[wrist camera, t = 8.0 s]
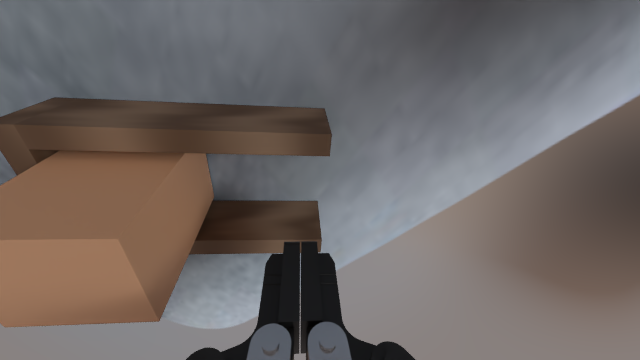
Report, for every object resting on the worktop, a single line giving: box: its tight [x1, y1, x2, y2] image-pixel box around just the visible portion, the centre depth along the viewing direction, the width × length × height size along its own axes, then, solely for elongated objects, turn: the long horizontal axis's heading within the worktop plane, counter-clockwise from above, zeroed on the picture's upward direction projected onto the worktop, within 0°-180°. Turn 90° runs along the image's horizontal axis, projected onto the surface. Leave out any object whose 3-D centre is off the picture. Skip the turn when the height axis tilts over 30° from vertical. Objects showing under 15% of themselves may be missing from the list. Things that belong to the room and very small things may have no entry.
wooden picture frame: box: [0, 98, 332, 254], centre depth 16 cm, size 15×8×4 cm, turn 86°
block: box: [0, 150, 214, 327], centre depth 13 cm, size 6×5×9 cm
